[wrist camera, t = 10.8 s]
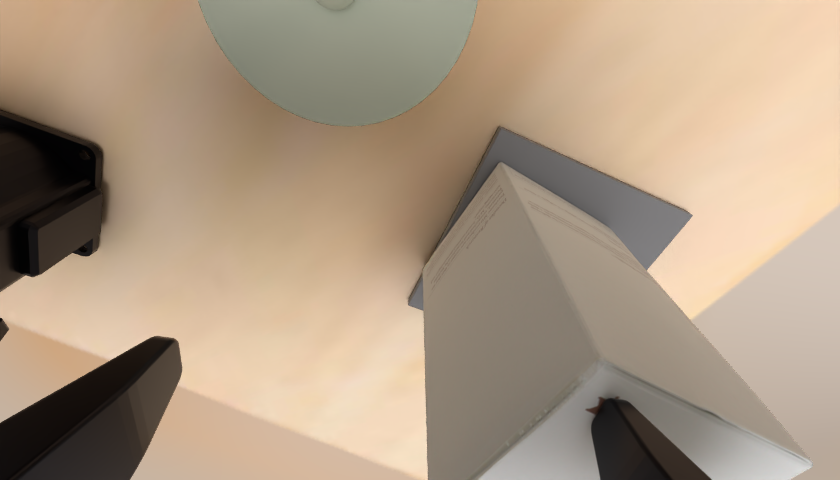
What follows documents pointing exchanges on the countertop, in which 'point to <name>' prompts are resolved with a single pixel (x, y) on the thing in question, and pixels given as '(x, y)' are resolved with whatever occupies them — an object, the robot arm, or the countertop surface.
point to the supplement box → (570, 351)
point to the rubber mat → (578, 197)
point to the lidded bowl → (342, 52)
